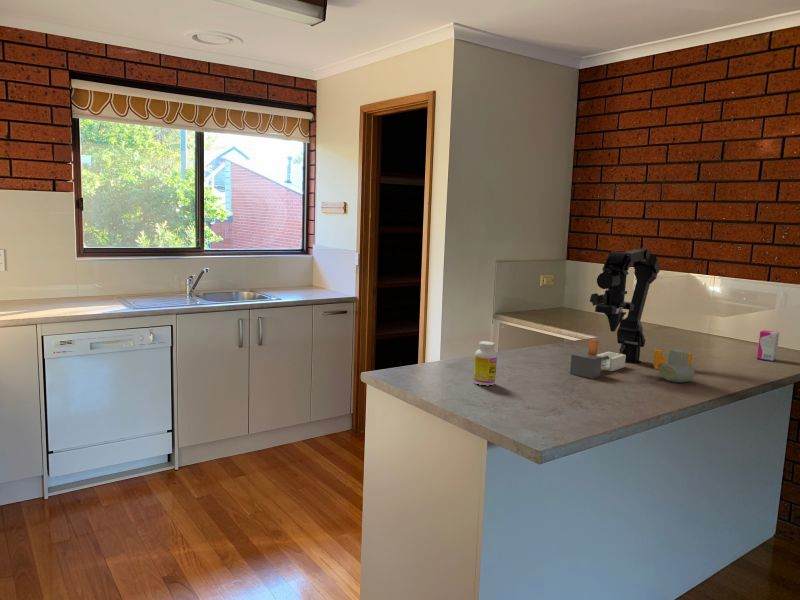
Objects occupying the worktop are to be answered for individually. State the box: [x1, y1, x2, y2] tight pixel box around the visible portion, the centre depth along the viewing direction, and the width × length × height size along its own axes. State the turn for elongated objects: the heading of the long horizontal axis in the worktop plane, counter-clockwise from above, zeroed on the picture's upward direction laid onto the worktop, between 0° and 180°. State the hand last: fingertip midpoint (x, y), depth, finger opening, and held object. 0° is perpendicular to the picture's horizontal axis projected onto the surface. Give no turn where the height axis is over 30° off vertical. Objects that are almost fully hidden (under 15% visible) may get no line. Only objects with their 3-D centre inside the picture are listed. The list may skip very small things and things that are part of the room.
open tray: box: [597, 351, 626, 372], centre depth 224 cm, size 10×7×4 cm, turn 137°
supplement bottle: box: [473, 340, 498, 387], centre depth 193 cm, size 7×7×13 cm
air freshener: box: [658, 349, 696, 384], centre depth 209 cm, size 11×8×10 cm
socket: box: [569, 352, 602, 380], centre depth 211 cm, size 6×8×7 cm
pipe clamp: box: [652, 348, 693, 370], centre depth 226 cm, size 12×4×6 cm, turn 77°
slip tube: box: [587, 338, 610, 367], centre depth 215 cm, size 16×4×10 cm, turn 137°
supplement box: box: [756, 330, 780, 363], centre depth 251 cm, size 6×6×12 cm
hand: (612, 331), depth 223 cm, fingers closed
